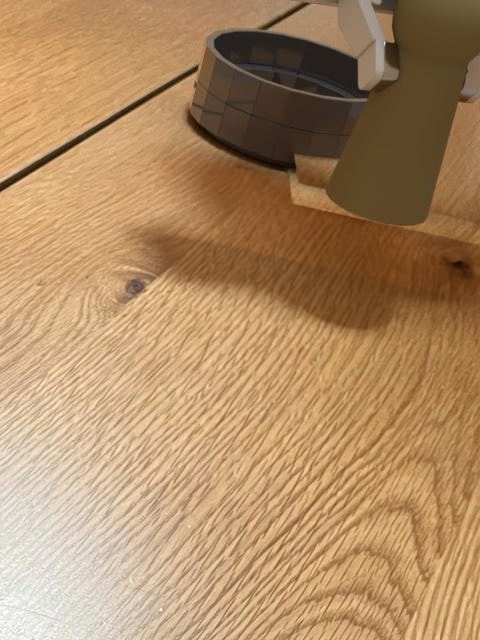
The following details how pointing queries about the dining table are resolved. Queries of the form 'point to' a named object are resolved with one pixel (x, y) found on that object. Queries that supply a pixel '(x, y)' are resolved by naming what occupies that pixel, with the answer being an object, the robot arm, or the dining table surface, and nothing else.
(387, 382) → the dining table surface
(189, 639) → the dining table surface
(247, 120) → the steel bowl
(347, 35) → the robot arm
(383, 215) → the olive brown pawn
